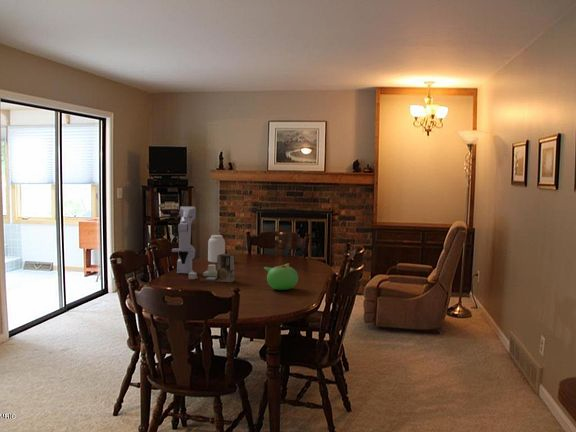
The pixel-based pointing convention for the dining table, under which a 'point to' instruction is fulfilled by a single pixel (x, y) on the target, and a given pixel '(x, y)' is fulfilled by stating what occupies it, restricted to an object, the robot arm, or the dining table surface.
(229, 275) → the coffee box
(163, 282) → the dining table surface
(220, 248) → the can
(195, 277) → the cable plug
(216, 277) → the phone
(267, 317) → the dining table surface
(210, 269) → the charger
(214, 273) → the outlet plate
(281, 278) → the green rounded lump
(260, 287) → the dining table surface
